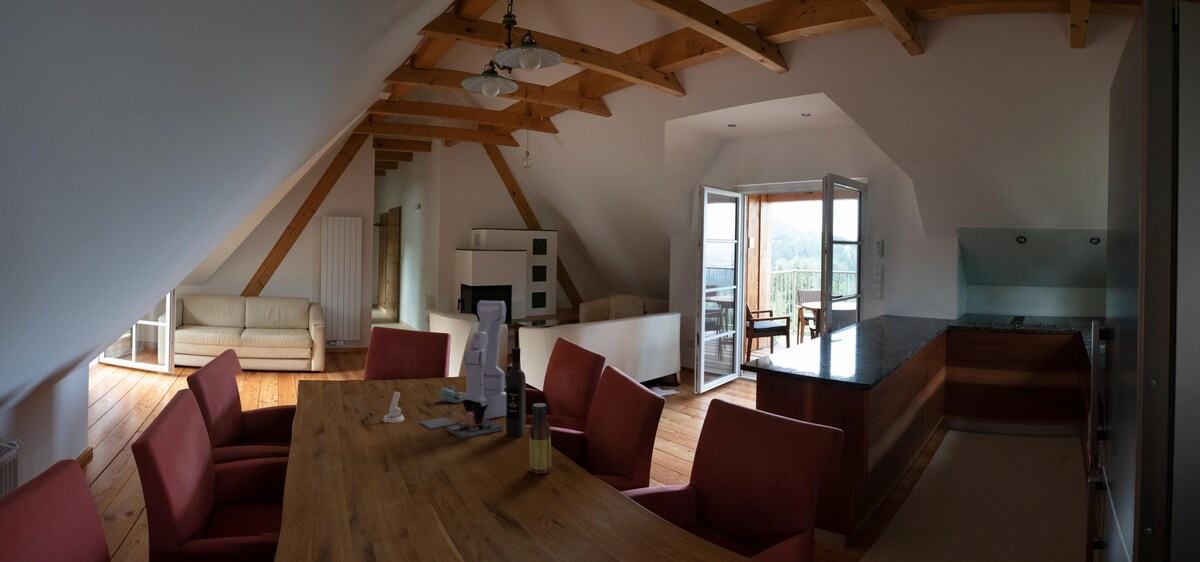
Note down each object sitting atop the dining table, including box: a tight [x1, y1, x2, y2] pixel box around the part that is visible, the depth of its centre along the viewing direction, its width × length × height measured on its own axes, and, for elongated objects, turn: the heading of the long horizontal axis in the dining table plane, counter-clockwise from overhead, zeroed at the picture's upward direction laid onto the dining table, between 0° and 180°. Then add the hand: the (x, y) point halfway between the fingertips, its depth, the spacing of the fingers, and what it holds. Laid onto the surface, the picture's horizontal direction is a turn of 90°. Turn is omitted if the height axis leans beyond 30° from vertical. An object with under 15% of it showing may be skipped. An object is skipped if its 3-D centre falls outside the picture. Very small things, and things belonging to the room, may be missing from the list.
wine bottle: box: [505, 347, 526, 438], centre depth 222 cm, size 6×6×30 cm
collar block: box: [464, 411, 486, 426], centre depth 226 cm, size 5×5×4 cm
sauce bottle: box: [528, 402, 552, 475], centre depth 187 cm, size 6×6×20 cm
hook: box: [382, 391, 405, 424], centre depth 241 cm, size 8×12×7 cm
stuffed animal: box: [439, 384, 464, 404], centre depth 267 cm, size 11×7×12 cm
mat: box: [419, 416, 458, 431], centre depth 234 cm, size 10×10×1 cm
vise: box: [446, 419, 504, 440], centre depth 226 cm, size 17×11×6 cm, turn 128°
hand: (474, 421), depth 226 cm, fingers closed on collar block, 5 cm apart
